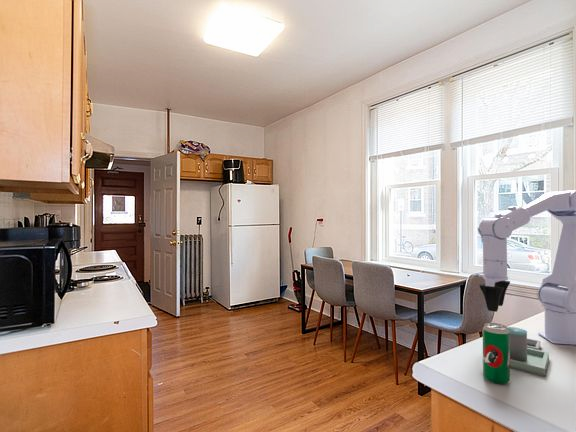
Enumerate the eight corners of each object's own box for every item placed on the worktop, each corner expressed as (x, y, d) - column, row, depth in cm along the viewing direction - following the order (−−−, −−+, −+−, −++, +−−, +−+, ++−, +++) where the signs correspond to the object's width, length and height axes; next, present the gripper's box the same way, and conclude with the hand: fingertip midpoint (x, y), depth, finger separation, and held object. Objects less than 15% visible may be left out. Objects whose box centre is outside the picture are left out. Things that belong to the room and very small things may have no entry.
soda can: (514, 386, 69) (513, 330, 69) (488, 384, 70) (487, 328, 70) (503, 375, 74) (503, 322, 74) (479, 373, 75) (478, 321, 75)
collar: (511, 340, 95) (511, 335, 95) (540, 346, 90) (540, 341, 90) (507, 347, 90) (507, 341, 90) (537, 354, 85) (537, 348, 85)
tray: (493, 346, 90) (493, 340, 90) (548, 359, 82) (548, 352, 82) (483, 361, 81) (483, 353, 81) (544, 376, 73) (544, 368, 73)
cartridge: (521, 354, 83) (521, 327, 83) (530, 362, 79) (530, 333, 79) (502, 353, 84) (502, 326, 84) (510, 360, 80) (510, 332, 80)
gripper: (484, 256, 100) (485, 300, 99) (472, 261, 89) (473, 310, 89) (512, 258, 95) (512, 304, 95) (502, 263, 84) (503, 315, 84)
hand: (495, 308), depth 91 cm, fingers open, 7 cm apart
